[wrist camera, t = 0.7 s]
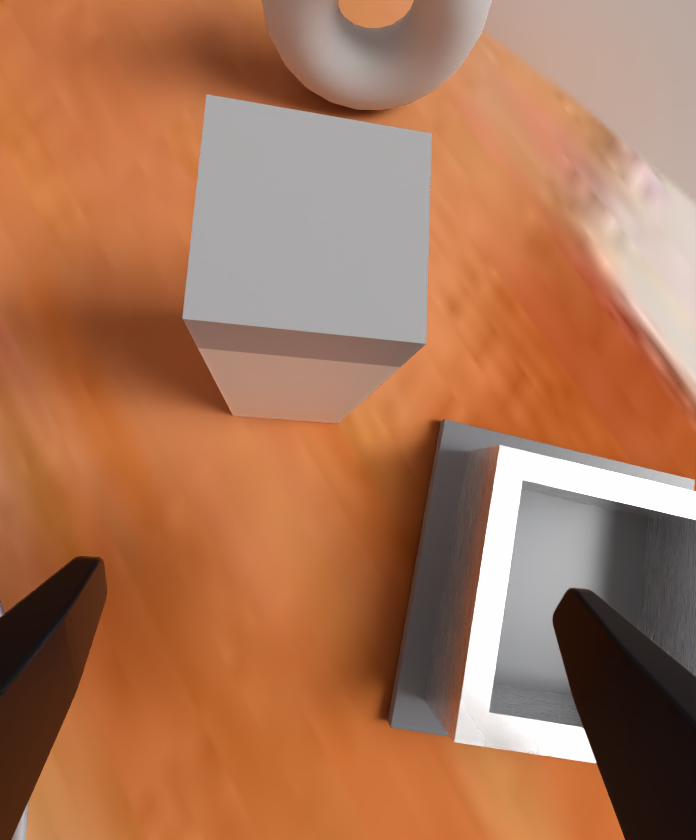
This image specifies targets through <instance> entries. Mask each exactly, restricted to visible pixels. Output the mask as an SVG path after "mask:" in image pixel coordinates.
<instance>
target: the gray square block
mask: <svg viewBox="0 0 696 840" xmlns="http://www.w3.org/2000/svg"><path fill="white" fill-rule="evenodd" d="M431 143H432V133H426V132H420V131H414V130H409V129H403V128H397V127H391V126H386V125H380V124H374V123H369V122H363V121H357V120H351V119H346V118H340V117H334V116H328V115H323V114H317V113H311V112H305V111H300V110H294V109H288V108H283V107H277V106H271V105H265V104H260V103H254V102H248V101H242V100H237V99H231V98H225V97H219V96H214V95H208V94H207V96H206V105H205V114H204V123H203V133H202V142H201V151H200V160H199V169H198V179H197V188H196V197H195V206H194V215H193V225H192V234H191V243H190V252H189V262H188V271H187V280H186V289H185V298H184V308H183V317H182V319H183V321H184V323H185V325H186V327H187V329H188V331H189V332H190V334H191V336H192V338H193V340H194V342H195V344H196V346H197V348H198V350H199V352H200V353H201V355H202V357H203V359H204V361H205V363H206V365H207V367H208V369H209V371H210V373H211V375H212V376H213V378H214V380H215V382H216V384H217V386H218V388H219V390H220V392H221V394H222V396H223V397H224V399H225V401H226V403H227V405H228V407H229V409H230V411H231V413H232V415H233V416H241V417H255V418H269V419H282V420H296V421H309V422H323V423H336V424H339V423H340V422H341V421H342V420H343V419H345V418H346V417H347V416H348V415H349V414H350V413H351V412H352V411H353V410H354V409H355V408H357V407H358V406H359V405H360V404H361V403H362V402H363V401H364V400H365V399H366V398H367V397H369V396H370V395H371V394H372V393H373V392H374V391H375V390H376V389H377V388H378V387H379V386H381V385H382V384H383V383H384V382H385V381H386V380H387V379H388V378H389V377H390V376H391V375H393V374H394V373H395V372H396V371H397V370H398V369H399V368H400V367H401V366H402V365H403V364H404V363H406V362H407V361H408V360H409V359H410V358H411V357H412V356H413V355H414V354H415V353H416V352H418V351H419V350H420V349H421V348H422V347H423V346H424V345H425V344H426V324H427V288H428V252H429V215H430V179H431Z"/></svg>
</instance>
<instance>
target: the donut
mask: <svg viewBox="0 0 696 840" xmlns="http://www.w3.org/2000/svg"><path fill="white" fill-rule="evenodd" d="M491 2H492V0H414V2H413V4H412V7H411V9H410V10H409V11H408V12H407V14H406V15H405V16H404V17H403V18H401V19H400V20H398V21H397V22H395V23H394V24H392V25H389V26H386V27H382V28H364V27H361V26H358V25H355V24H353V23H352V22H351V21H349V20H348V19H347V18H345V17H344V16H343V14H342V13H341V12H340V9H339V6H338V0H262V3H263V9H264V15H265V21H266V27H267V31H268V33H269V35H270V37H271V39H272V41H273V43H274V45H275V47H276V49H277V51H278V53H279V55H280V57H281V59H282V61H283V63H284V64H285V66H286V67H287V68H288V69H289V70H290V71H291V72H292V73H293V74H294V76H295V77H296V78H297V79H298V80H299V81H300V82H301V83H302V84H303V85H304V86H305V87H306V88H307V89H309V90H311V91H312V92H314V93H316V94H317V95H319V96H321V97H322V98H324V99H326V100H328V101H329V102H331V103H335V104H338V105H342V106H346V107H349V108H353V109H357V110H386V109H390V108H394V107H398V106H402V105H406V104H410V103H412V102H414V101H415V100H417V99H419V98H421V97H423V96H425V95H427V94H428V93H430V92H432V91H434V90H436V89H438V88H439V87H440V86H441V85H442V84H443V83H444V82H445V81H446V80H447V79H448V78H450V77H451V76H452V75H453V74H454V73H455V72H456V71H457V70H458V69H459V68H460V67H461V66H462V64H463V63H464V61H465V59H466V58H467V56H468V55H469V53H470V52H471V50H472V48H473V47H474V45H475V44H476V42H477V40H478V39H479V37H480V35H481V33H482V32H483V29H484V25H485V22H486V18H487V15H488V12H489V8H490V5H491Z"/></svg>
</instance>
